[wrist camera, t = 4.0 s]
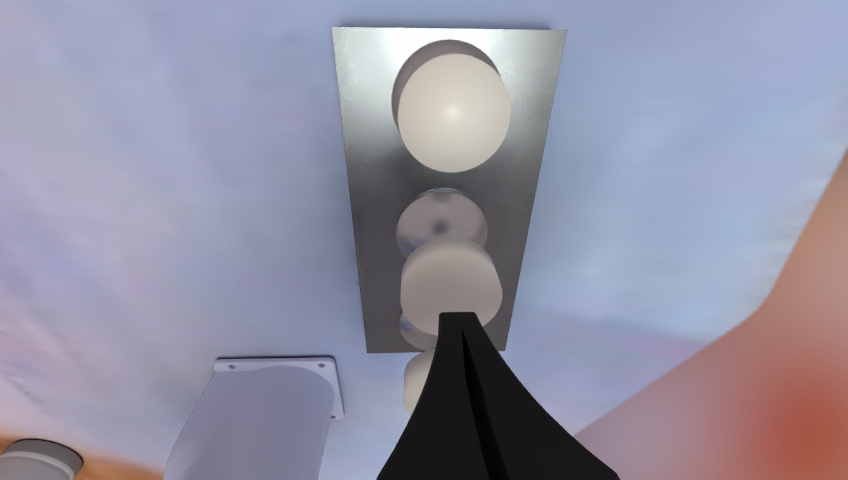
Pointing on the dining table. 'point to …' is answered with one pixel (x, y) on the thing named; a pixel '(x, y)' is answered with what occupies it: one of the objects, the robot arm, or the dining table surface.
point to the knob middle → (449, 283)
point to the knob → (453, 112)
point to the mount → (430, 189)
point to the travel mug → (38, 461)
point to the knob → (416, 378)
